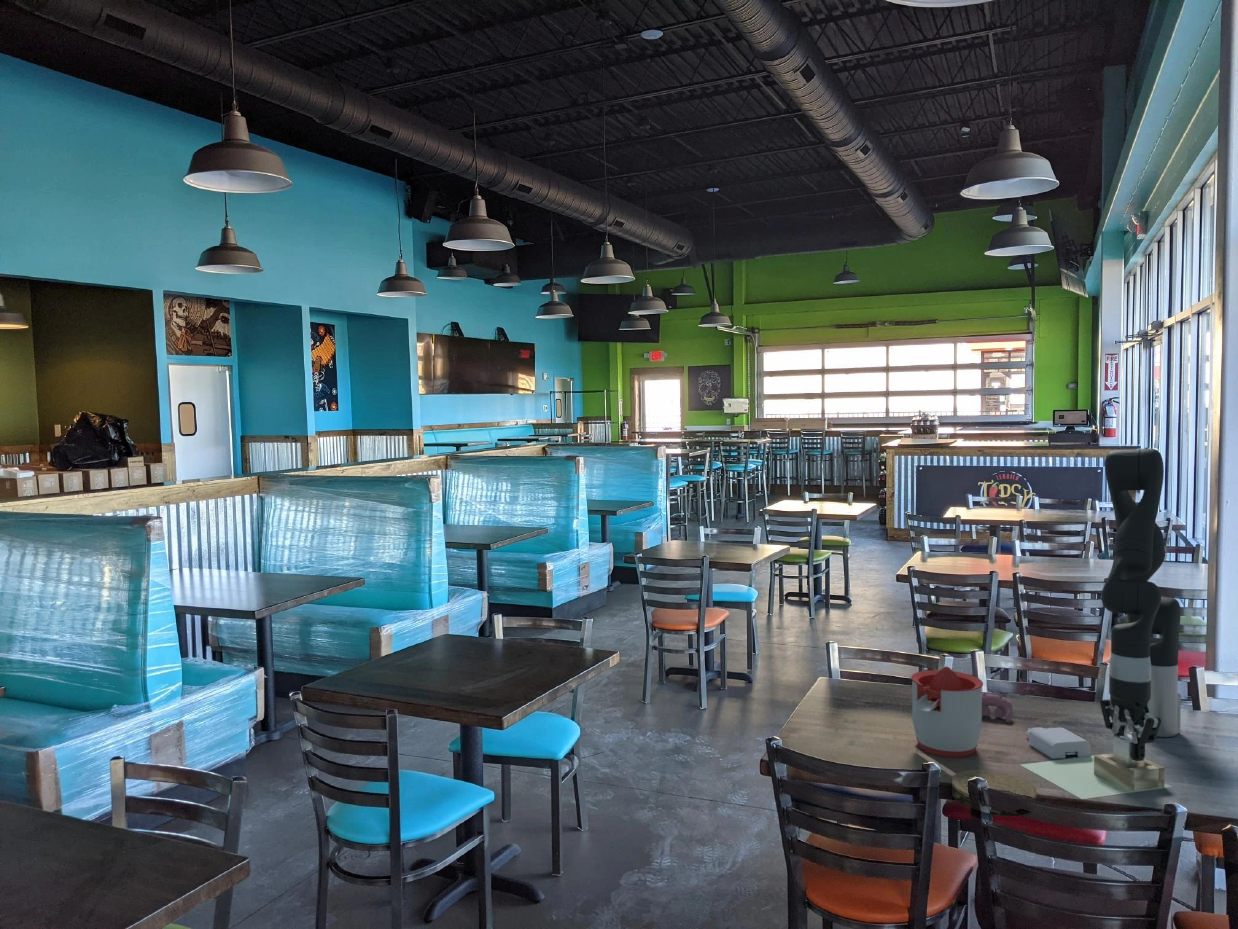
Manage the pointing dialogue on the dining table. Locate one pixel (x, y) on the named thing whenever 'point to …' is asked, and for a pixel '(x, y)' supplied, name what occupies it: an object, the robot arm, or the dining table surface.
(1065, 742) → the charger
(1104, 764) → the shallow wooden crate
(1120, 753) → the peg
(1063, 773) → the board
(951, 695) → the citrus juicer
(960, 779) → the olive brown round disc
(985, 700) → the video game controller
